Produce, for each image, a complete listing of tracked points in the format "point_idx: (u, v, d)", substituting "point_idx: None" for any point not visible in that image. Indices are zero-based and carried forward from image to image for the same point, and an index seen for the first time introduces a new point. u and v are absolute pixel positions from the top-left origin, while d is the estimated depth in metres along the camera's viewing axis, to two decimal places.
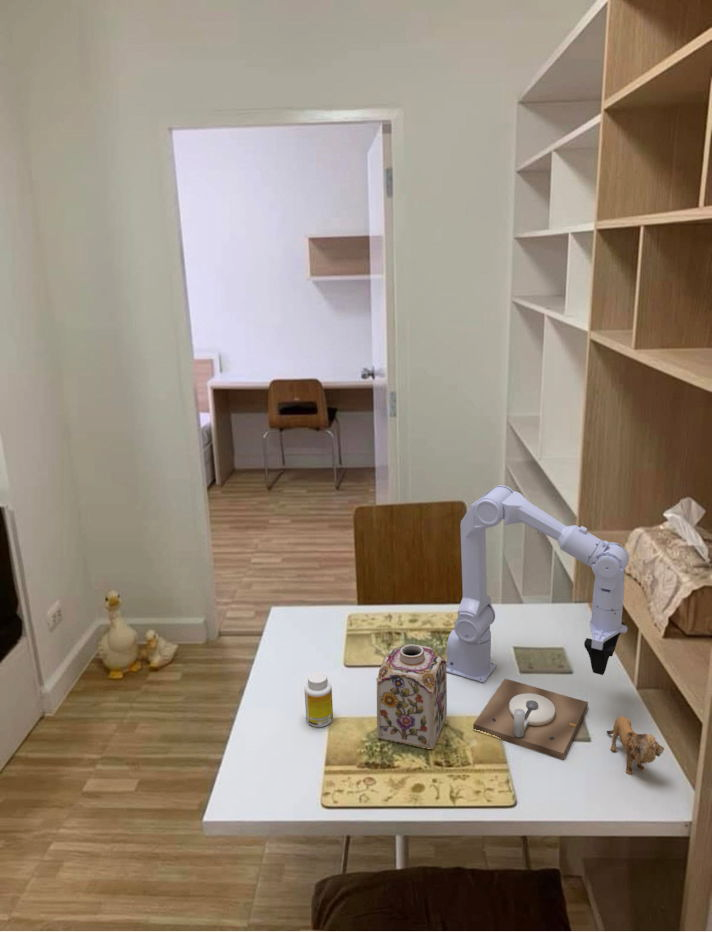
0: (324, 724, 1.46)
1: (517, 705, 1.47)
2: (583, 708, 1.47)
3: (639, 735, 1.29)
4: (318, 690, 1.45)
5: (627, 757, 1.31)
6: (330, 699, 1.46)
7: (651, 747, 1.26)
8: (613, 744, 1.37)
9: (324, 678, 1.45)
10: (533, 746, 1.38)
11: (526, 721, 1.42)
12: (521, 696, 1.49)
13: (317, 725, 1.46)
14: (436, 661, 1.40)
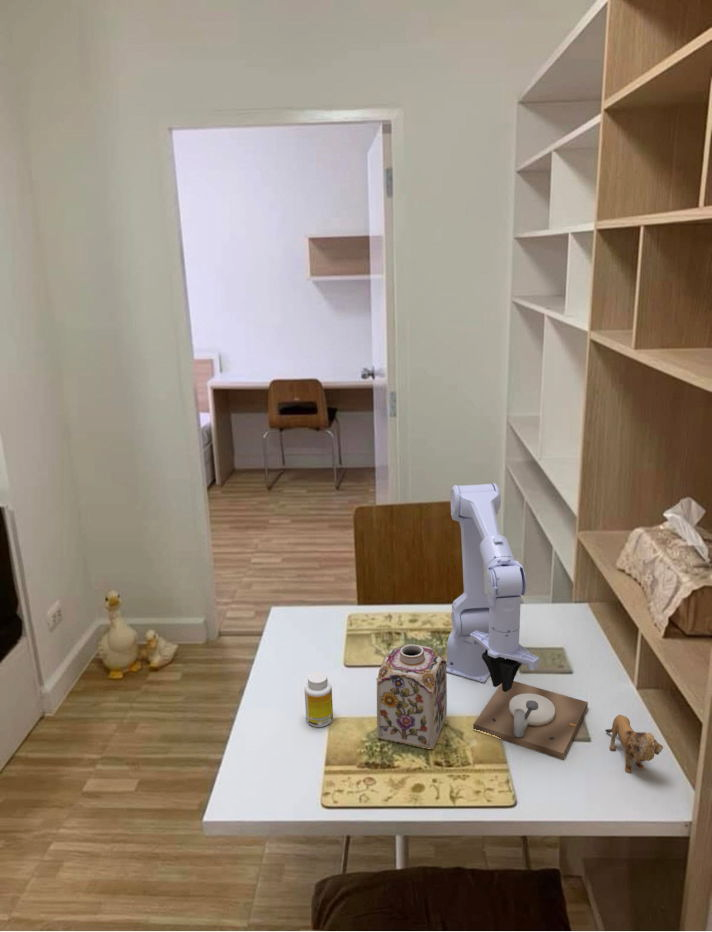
0: (324, 724, 1.46)
1: (517, 705, 1.47)
2: (583, 708, 1.47)
3: (638, 733, 1.29)
4: (318, 690, 1.45)
5: (626, 755, 1.31)
6: (330, 699, 1.46)
7: (650, 746, 1.27)
8: (612, 743, 1.38)
9: (324, 678, 1.45)
10: (533, 746, 1.38)
11: (526, 721, 1.42)
12: (521, 696, 1.49)
13: (317, 725, 1.46)
14: (436, 661, 1.40)
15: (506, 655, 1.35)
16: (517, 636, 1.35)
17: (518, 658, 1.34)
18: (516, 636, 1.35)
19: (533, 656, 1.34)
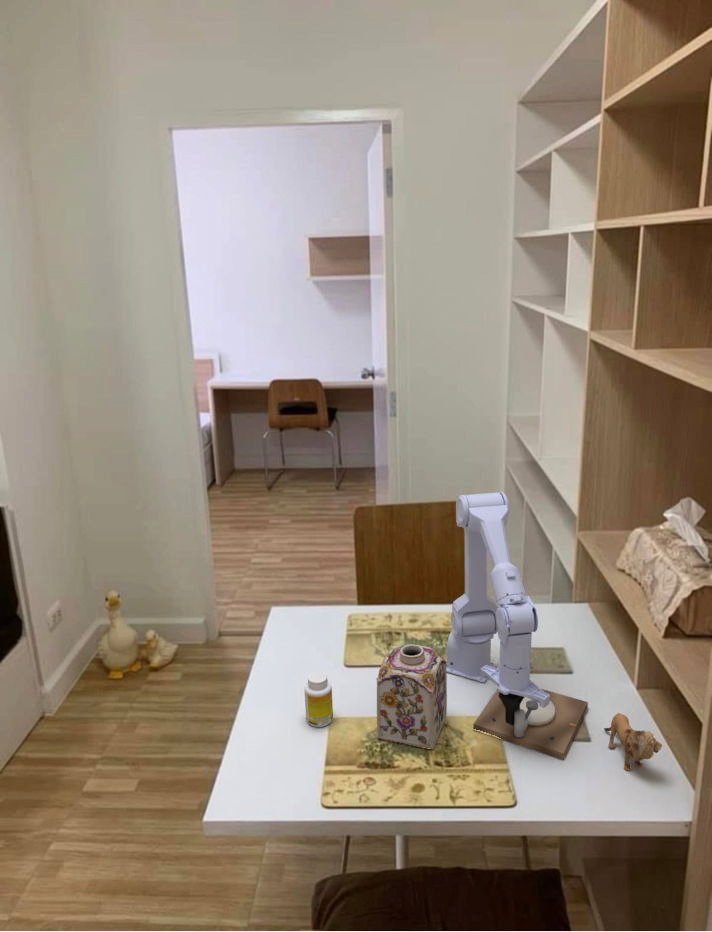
0: (324, 724, 1.46)
1: None
2: (583, 708, 1.47)
3: (637, 732, 1.30)
4: (318, 690, 1.45)
5: (625, 754, 1.32)
6: (330, 699, 1.46)
7: (649, 744, 1.27)
8: (611, 741, 1.38)
9: (324, 678, 1.45)
10: (533, 746, 1.38)
11: (526, 721, 1.42)
12: None
13: (317, 725, 1.46)
14: (436, 661, 1.40)
15: (517, 692, 1.35)
16: (528, 673, 1.35)
17: (529, 695, 1.34)
18: (526, 673, 1.35)
19: (544, 693, 1.34)
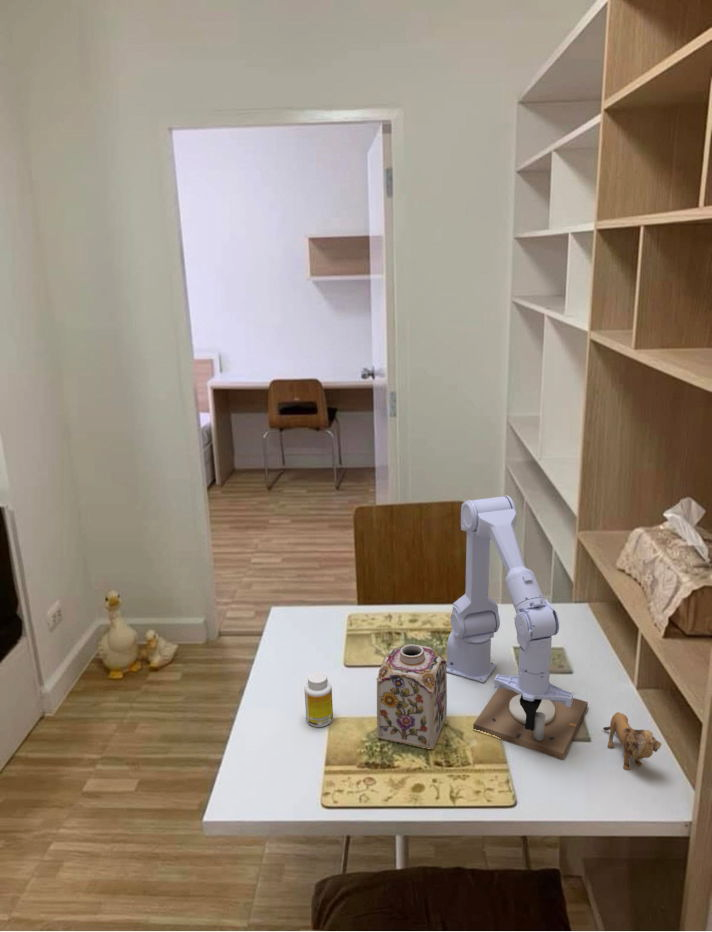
0: (324, 724, 1.46)
1: (519, 709, 1.45)
2: (583, 708, 1.47)
3: (636, 731, 1.30)
4: (318, 690, 1.45)
5: (625, 753, 1.32)
6: (330, 699, 1.46)
7: (648, 743, 1.27)
8: (610, 740, 1.38)
9: (324, 678, 1.45)
10: (533, 746, 1.38)
11: None
12: (515, 699, 1.49)
13: (317, 725, 1.46)
14: (437, 661, 1.40)
15: (542, 696, 1.33)
16: None
17: (554, 697, 1.33)
18: (548, 675, 1.34)
19: (566, 692, 1.34)
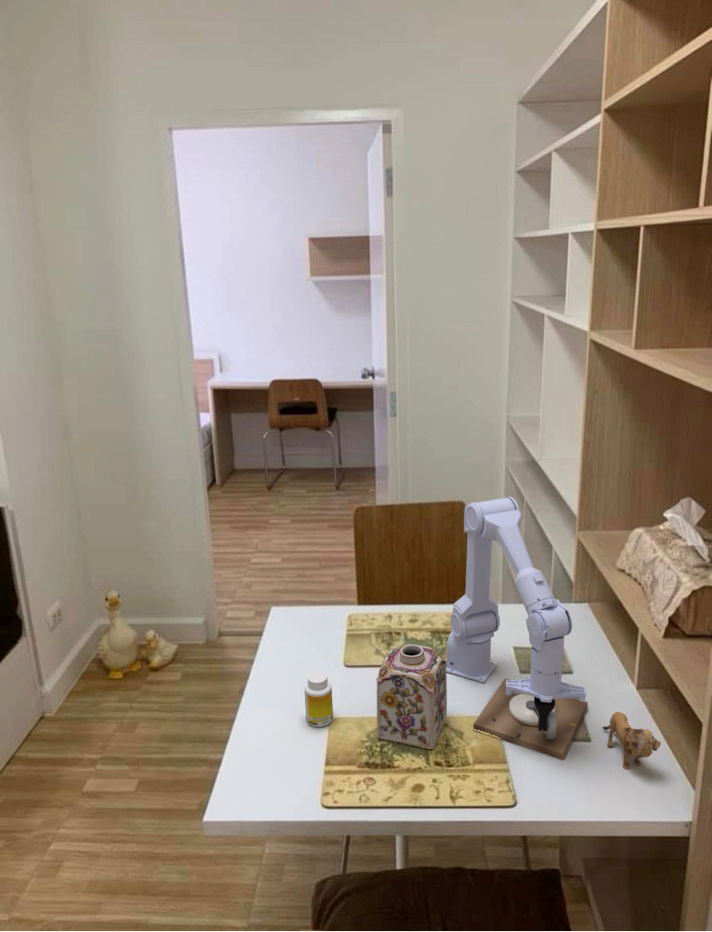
0: (324, 724, 1.46)
1: (522, 711, 1.45)
2: (583, 708, 1.47)
3: (636, 730, 1.30)
4: (318, 690, 1.45)
5: (624, 752, 1.32)
6: (330, 699, 1.46)
7: (648, 742, 1.28)
8: (610, 739, 1.39)
9: (324, 678, 1.45)
10: (533, 746, 1.38)
11: None
12: (513, 702, 1.48)
13: (317, 725, 1.46)
14: (436, 661, 1.40)
15: (558, 695, 1.33)
16: None
17: (570, 694, 1.34)
18: (561, 674, 1.34)
19: (578, 687, 1.36)
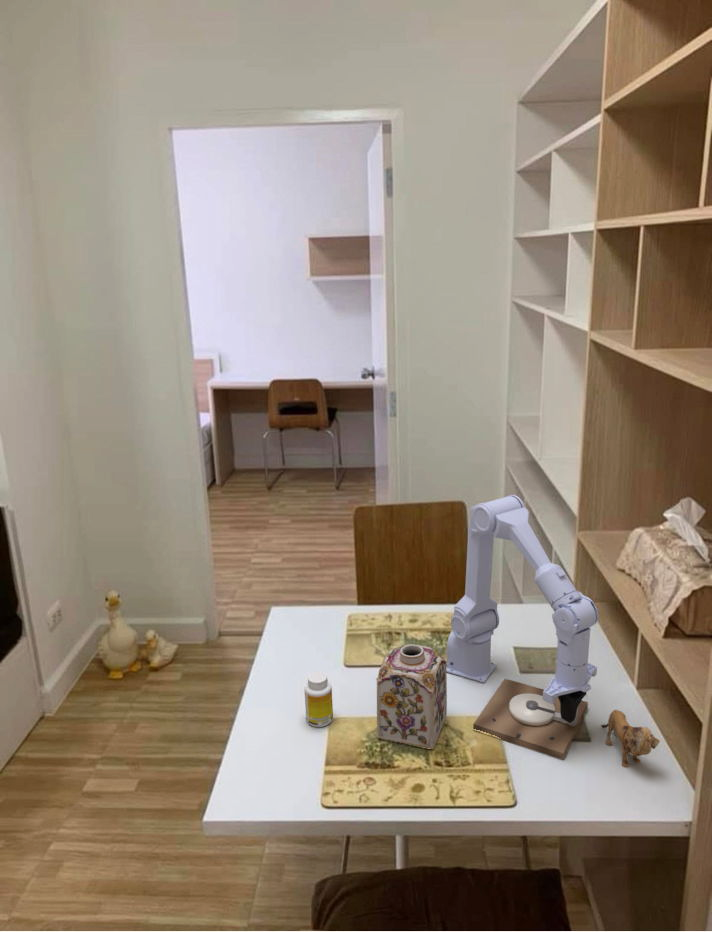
0: (324, 724, 1.46)
1: (533, 715, 1.43)
2: (583, 708, 1.47)
3: (635, 728, 1.31)
4: (318, 690, 1.45)
5: (623, 750, 1.33)
6: (330, 699, 1.46)
7: (647, 740, 1.28)
8: (608, 738, 1.39)
9: (324, 678, 1.45)
10: (533, 746, 1.38)
11: (556, 713, 1.44)
12: (516, 711, 1.45)
13: (317, 725, 1.46)
14: (436, 661, 1.40)
15: (588, 680, 1.38)
16: None
17: (591, 674, 1.40)
18: None
19: None
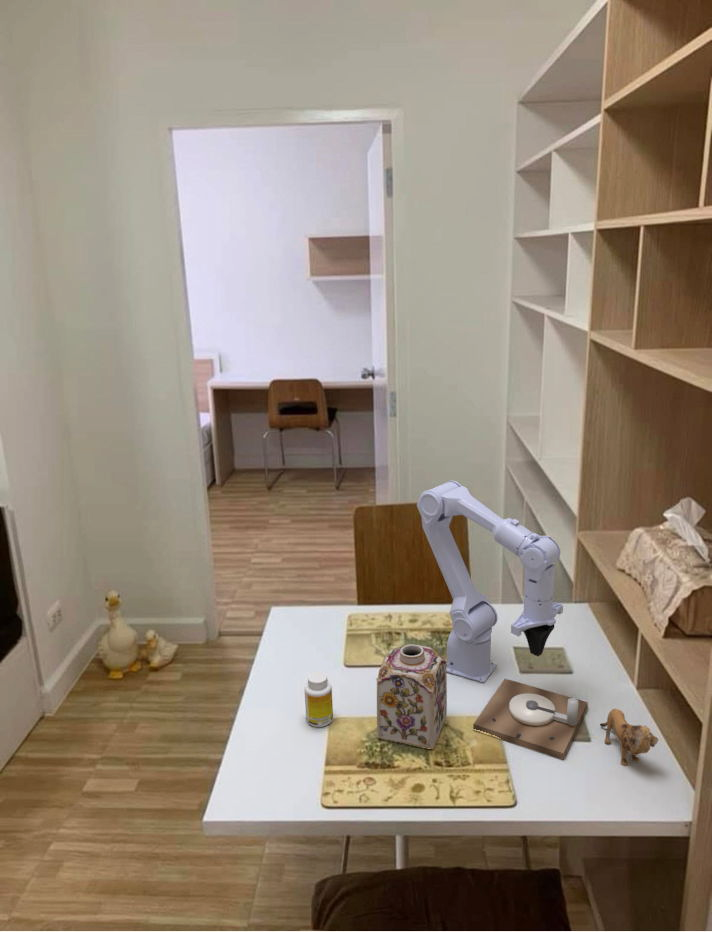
0: (324, 724, 1.46)
1: (533, 715, 1.43)
2: (583, 708, 1.47)
3: (634, 727, 1.31)
4: (318, 690, 1.45)
5: (622, 749, 1.33)
6: (330, 699, 1.46)
7: (646, 738, 1.29)
8: (607, 736, 1.40)
9: (324, 678, 1.45)
10: (533, 746, 1.38)
11: (556, 713, 1.44)
12: (516, 711, 1.45)
13: (317, 725, 1.46)
14: (436, 661, 1.40)
15: (553, 615, 1.48)
16: None
17: (557, 611, 1.50)
18: None
19: None
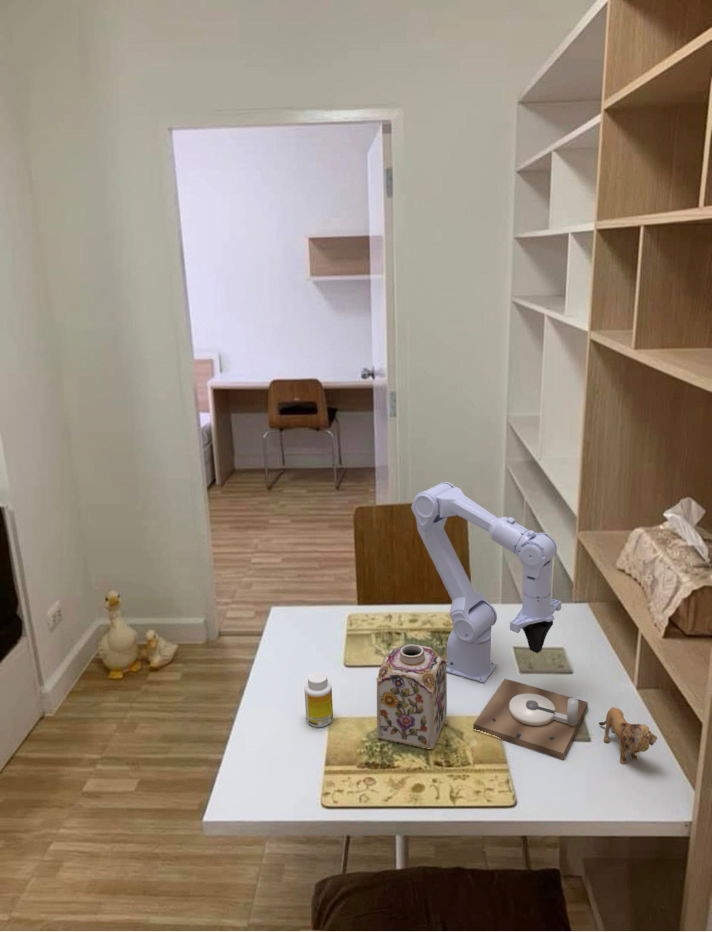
0: (324, 724, 1.46)
1: (533, 715, 1.43)
2: (583, 708, 1.47)
3: (633, 725, 1.31)
4: (318, 690, 1.45)
5: (621, 747, 1.33)
6: (330, 699, 1.46)
7: (645, 737, 1.29)
8: (606, 735, 1.40)
9: (324, 678, 1.45)
10: (533, 746, 1.38)
11: (556, 713, 1.44)
12: (516, 711, 1.45)
13: (317, 725, 1.46)
14: (436, 661, 1.40)
15: (552, 612, 1.50)
16: None
17: (555, 607, 1.51)
18: None
19: (550, 601, 1.54)
